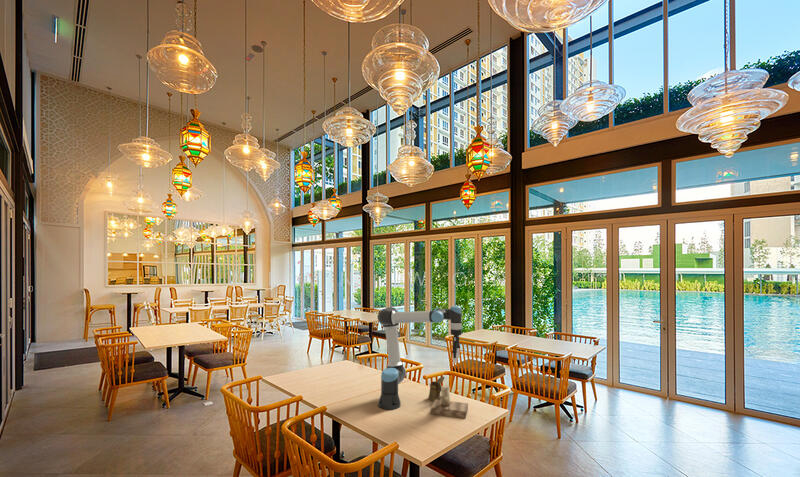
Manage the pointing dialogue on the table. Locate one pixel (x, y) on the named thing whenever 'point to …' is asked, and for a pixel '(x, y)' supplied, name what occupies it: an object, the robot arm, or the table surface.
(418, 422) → the table surface
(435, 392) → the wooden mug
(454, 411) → the board
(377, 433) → the table surface
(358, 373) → the table surface
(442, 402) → the dowel
